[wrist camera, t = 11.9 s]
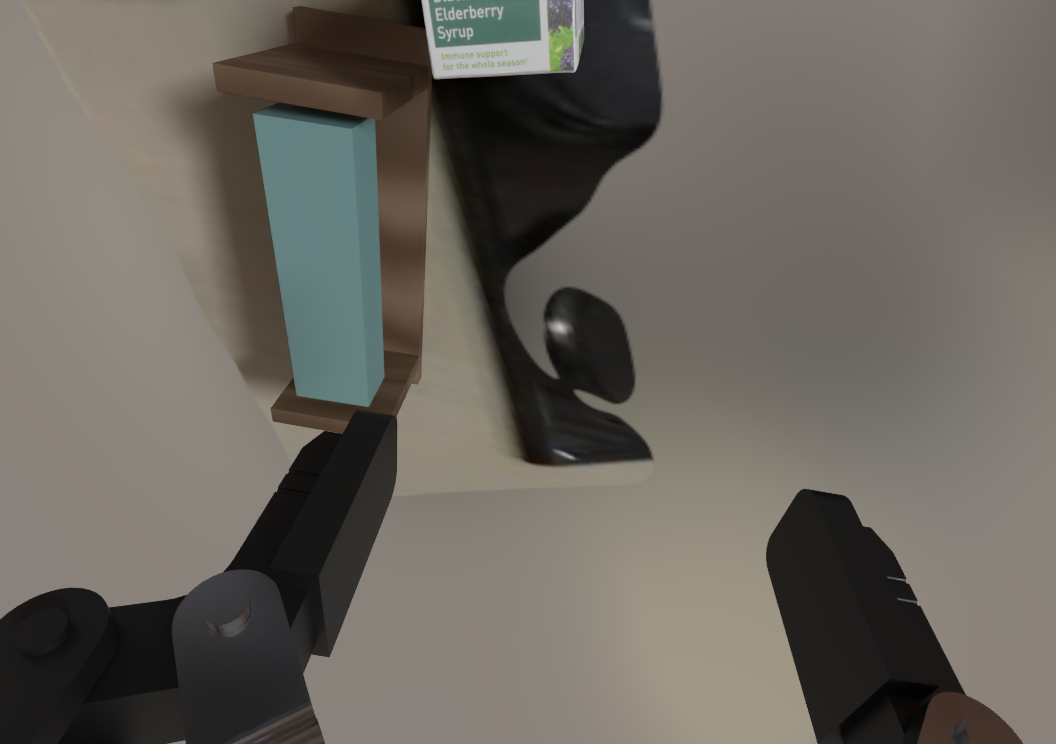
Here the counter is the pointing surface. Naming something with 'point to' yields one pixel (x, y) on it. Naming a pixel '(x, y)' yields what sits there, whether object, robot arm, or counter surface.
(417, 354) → the rack
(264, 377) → the counter surface
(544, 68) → the syrup box
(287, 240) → the teal rectangular block
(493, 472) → the counter surface
